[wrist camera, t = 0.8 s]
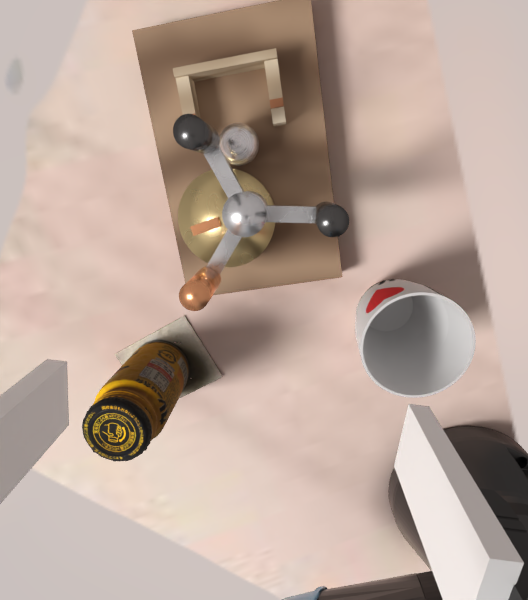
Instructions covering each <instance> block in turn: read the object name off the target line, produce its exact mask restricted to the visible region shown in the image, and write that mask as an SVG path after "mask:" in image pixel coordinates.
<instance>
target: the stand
mask: <svg viewBox="0 0 528 600" xmlns="http://www.w3.org/2000/svg"><path fill="white" fill-rule="evenodd" d="M132 32H133V37H134V41H135V46H136V51H137V56H138V60H139V65H140V70H141V75H142V79H143V84H144V89H145V94H146V98H147V103H148V108H149V113H150V117H151V122H152V127H153V131H154V136H155V141H156V146H157V150H158V155H159V160H160V165H161V169H162V174H163V179H164V184H165V188H166V193H167V198H168V203H169V207H170V212H171V217H172V221H173V226H174V231H175V236H176V240H177V245H178V250H179V255H180V259H181V264H182V269H183V274H184V278H185V283H187V282H188V281H189V280H190V279H191V278H192V277H193V276H194V275H195V274H196V273H197V272H198V271H199V270H200V269H201V268H203V267H206V266H207V265H208V263H207V262H205V261H203V260H201V259H200V258H199V257H197V256H196V255H195V254H194V253H193V252H192V251H191V250H190V249H189V248H188V246H187V245H186V243H185V242H184V240H183V238H182V235H181V232H180V229H179V224H178V208H179V203H180V200H181V197H182V195H183V193H184V191H185V190H186V188H187V187H188V186H189V185H190V183H191V182H192V181H193V180H195V179H196V178H197V177H198V176H200V175H201V174H203V173H205V172H208V171H210V170H212V168H211V167H210V165H209V163H208V161H207V159H206V158H205V156H204V154H202V153H199V152H196V151H192V150H189V149H186V148H183V147H182V146H180V145H179V144H178V143H177V142H176V140H175V138H174V135H173V126H174V123H175V121H176V120H177V119H178V118H179V117H180V116H181V115H184V114H193V115H196V116H197V117H199V118H200V119H202V120H203V121H204V122H206V123H207V124H209V125H210V126H212V127H213V128H214V129H215V130H216V131H217V132H218V134H219V136H220V134H221V132H222V131H223V129H224V128H225V127H226V126H228V125H230V124H232V123H236V122H240V123H244V124H247V125H249V126H250V127H251V128H253V130H254V131H255V132H256V134H257V136H258V140H259V149H258V153H257V155H256V156H255V158H254V159H253V160H252V161H251V162H250V163H248V164H246V165H241V166H236V165H232V164H230V163H229V164H230V166H231V168H232V169H237V170H241V171H244V172H246V173H249V174H250V175H252V176H254V177H255V178H257V179H258V180H259V181H260V182H261V183H262V184H263V185H264V186H265V187H266V189H267V190H268V192H269V194H270V195H271V197H272V200H273V203H274V205H286V206H317V205H318V204H319V203H321V202H324V201H329V202H332V203H334V200H333V191H332V182H331V173H330V164H329V155H328V147H327V138H326V129H325V120H324V111H323V102H322V94H321V85H320V76H319V67H318V58H317V49H316V40H315V32H314V23H313V14H312V5H311V0H278V1H273V2H268V3H264V4H259V5H254V6H249V7H244V8H239V9H234V10H230V11H225V12H220V13H215V14H210V15H205V16H200V17H196V18H191V19H186V20H181V21H176V22H171V23H166V24H162V25H157V26H152V27H147V28H142V29H137V30H132ZM220 276H221V283H220V285H219V287H218V288H217V290H216V291H215V293H214V294H213V295H218V294H225V293H232V292H239V291H247V290H254V289H261V288H268V287H275V286H282V285H289V284H296V283H304V282H311V281H318V280H325V279H332V278H339V277H342V271H341V262H340V253H339V244H338V237H327V236H325V235H323V234H322V233H321V232H320V230H319V229H318V227H317V225H316V224H315V223H281V222H275V228H274V232H273V235H272V238H271V240H270V242H269V244H268V246H267V247H266V248H265V250H264V251H263V252H262V253H261V254H260V255H259V256H258V257H257V258H255V259H254V260H252V261H251V262H249V263H247V264H244V265H241V266H237V267H224V269H223V271H222V272H221V274H220Z"/></svg>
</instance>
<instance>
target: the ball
mask: <svg viewBox="0 0 528 600" xmlns="http://www.w3.org/2000/svg"><path fill="white" fill-rule="evenodd" d="M219 138H220V143H219V146H220V148H221V150H222V152H223V153H224V155H225V157H226V159H227V161H228V163H230V164H232V165H236V166H241V165H246V164H248V163H250V162H251V161H252V160H253V159H254V158H255V156H256V155H257V153H258V149H259V140H258V136H257V134H256V132H255V131H254V130H253V128H251V127H250V126H249V125H247V124H244V123H240V122H236V123H232V124H230V125H228V126H226V127H225V128H224V129H223V131H222V132H221V134H220V136H219Z"/></svg>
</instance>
